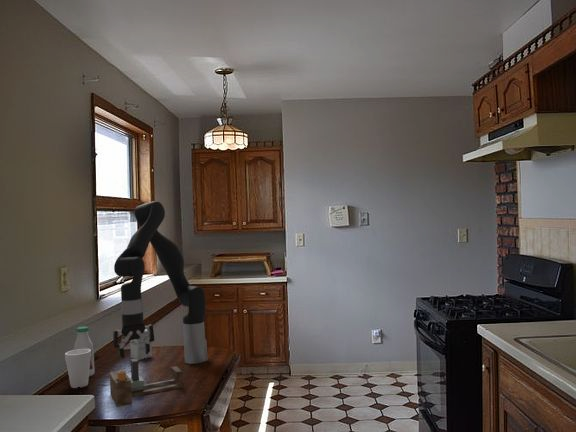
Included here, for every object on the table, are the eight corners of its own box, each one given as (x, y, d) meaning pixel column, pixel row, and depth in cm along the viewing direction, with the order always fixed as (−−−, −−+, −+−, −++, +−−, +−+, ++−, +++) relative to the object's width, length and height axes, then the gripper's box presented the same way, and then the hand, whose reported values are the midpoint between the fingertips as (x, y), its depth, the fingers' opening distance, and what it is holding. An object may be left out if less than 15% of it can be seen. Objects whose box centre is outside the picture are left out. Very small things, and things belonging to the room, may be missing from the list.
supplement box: (130, 357, 235) (129, 330, 235) (145, 354, 240) (143, 327, 240) (137, 360, 230) (136, 332, 230) (152, 356, 235) (151, 329, 235)
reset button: (125, 383, 176) (124, 370, 176) (126, 385, 174) (125, 372, 174) (118, 384, 175) (117, 371, 175) (119, 386, 173) (118, 373, 173)
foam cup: (76, 390, 190) (74, 356, 191) (61, 387, 195) (59, 353, 196) (97, 383, 199) (96, 350, 199) (82, 380, 203) (81, 347, 204)
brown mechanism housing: (176, 381, 195) (176, 361, 195) (187, 392, 182) (186, 370, 182) (110, 394, 184) (109, 372, 184) (116, 406, 171) (115, 383, 171)
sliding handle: (140, 385, 189) (139, 356, 189) (144, 390, 182) (143, 361, 182) (126, 388, 186) (125, 359, 186) (130, 393, 180) (128, 363, 180)
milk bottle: (78, 373, 213) (76, 326, 214) (96, 372, 214) (94, 324, 214) (71, 379, 206) (69, 329, 206) (91, 377, 206) (89, 328, 207)
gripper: (149, 307, 191) (152, 350, 191) (110, 313, 184) (113, 357, 184) (154, 310, 184) (156, 354, 184) (113, 316, 178) (116, 361, 178)
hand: (134, 355), depth 184 cm, fingers open, 8 cm apart
